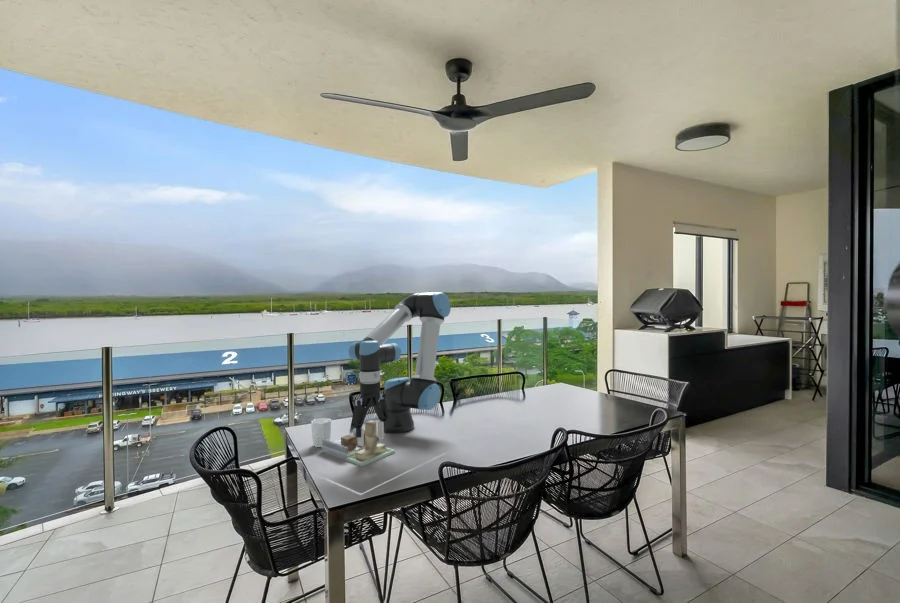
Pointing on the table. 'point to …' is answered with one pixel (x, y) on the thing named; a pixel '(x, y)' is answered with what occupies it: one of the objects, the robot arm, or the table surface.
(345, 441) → the walnut cube
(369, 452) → the light wood block tower
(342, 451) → the bed
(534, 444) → the table surface
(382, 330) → the robot arm
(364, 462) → the tray
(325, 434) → the white cup
